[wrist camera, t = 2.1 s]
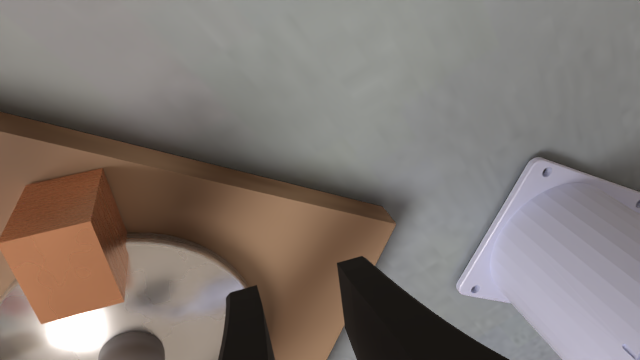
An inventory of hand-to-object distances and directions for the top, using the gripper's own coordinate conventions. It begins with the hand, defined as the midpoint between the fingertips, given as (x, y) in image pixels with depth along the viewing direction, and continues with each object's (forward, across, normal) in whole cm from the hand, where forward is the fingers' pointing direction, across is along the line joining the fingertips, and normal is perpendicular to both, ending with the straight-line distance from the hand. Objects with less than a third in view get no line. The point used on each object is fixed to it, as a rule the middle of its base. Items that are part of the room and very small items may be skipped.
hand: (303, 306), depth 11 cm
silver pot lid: (+8, +6, +5) cm, 11 cm away
